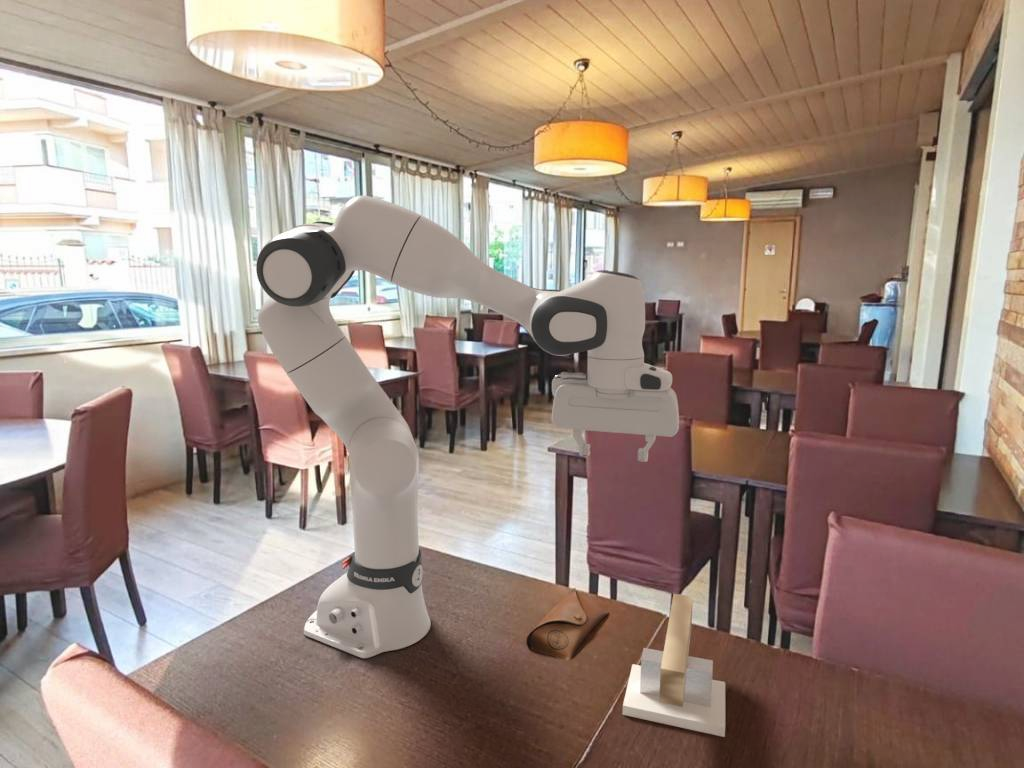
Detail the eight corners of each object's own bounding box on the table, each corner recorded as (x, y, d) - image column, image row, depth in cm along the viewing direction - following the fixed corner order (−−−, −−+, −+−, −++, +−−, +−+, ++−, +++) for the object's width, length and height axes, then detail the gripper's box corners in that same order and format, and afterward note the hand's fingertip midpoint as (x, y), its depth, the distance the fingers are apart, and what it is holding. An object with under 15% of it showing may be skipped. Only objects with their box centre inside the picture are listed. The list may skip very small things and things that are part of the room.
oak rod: (659, 702, 82) (660, 668, 81) (672, 621, 100) (673, 593, 100) (682, 707, 81) (684, 672, 80) (691, 625, 99) (692, 596, 99)
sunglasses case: (571, 662, 101) (552, 625, 102) (538, 671, 105) (520, 634, 106) (611, 611, 117) (595, 578, 117) (581, 619, 120) (565, 588, 121)
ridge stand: (622, 714, 90) (623, 671, 88) (632, 672, 99) (633, 632, 98) (724, 737, 85) (727, 691, 84) (724, 690, 94) (727, 649, 93)
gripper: (546, 374, 99) (546, 457, 101) (679, 380, 92) (675, 469, 95) (556, 368, 105) (556, 447, 107) (681, 373, 98) (678, 457, 101)
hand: (613, 457), depth 101 cm, fingers open, 8 cm apart
